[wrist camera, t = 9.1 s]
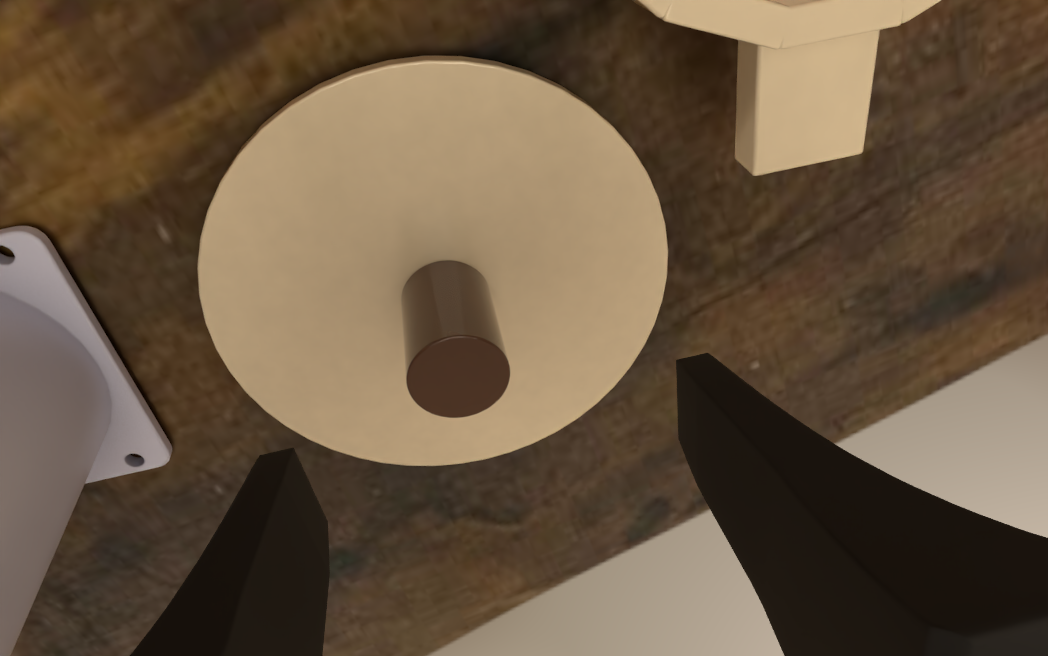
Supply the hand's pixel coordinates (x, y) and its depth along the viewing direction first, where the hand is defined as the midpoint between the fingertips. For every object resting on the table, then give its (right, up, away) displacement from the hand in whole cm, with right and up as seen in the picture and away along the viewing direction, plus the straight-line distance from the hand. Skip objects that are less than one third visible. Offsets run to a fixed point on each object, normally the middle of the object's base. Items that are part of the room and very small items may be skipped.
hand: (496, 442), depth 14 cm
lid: (-2, +3, +6) cm, 7 cm away
